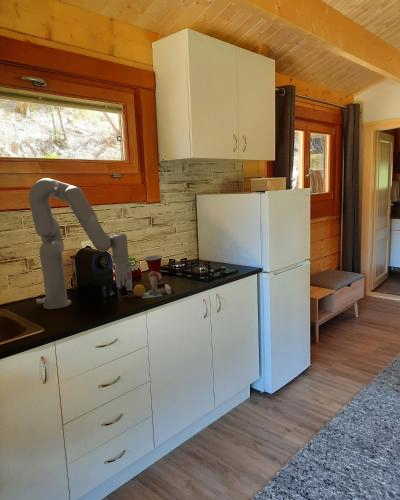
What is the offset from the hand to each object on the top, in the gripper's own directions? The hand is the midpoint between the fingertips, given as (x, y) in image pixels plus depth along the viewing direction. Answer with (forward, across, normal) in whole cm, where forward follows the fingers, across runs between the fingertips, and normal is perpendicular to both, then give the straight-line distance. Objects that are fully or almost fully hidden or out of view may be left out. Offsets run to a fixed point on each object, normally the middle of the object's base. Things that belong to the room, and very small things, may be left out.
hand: (123, 295), depth 189 cm
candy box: (+2, -19, +2) cm, 19 cm away
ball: (-2, 0, +8) cm, 8 cm away
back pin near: (+2, +2, +15) cm, 16 cm away
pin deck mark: (+2, 0, +14) cm, 14 cm away
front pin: (0, 0, +12) cm, 12 cm away
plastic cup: (+2, -43, +22) cm, 48 cm away
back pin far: (+2, -2, +15) cm, 16 cm away
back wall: (+2, -2, +22) cm, 23 cm away
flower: (+2, -17, +18) cm, 25 cm away
